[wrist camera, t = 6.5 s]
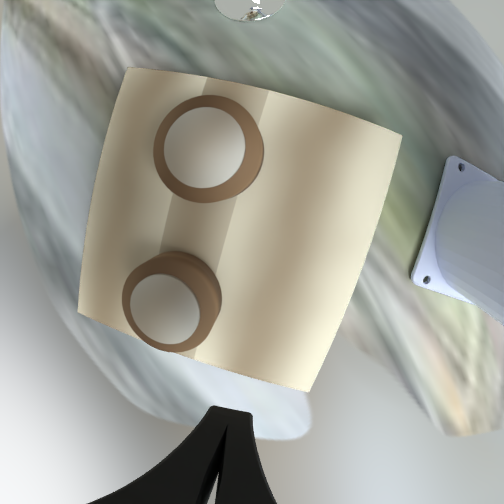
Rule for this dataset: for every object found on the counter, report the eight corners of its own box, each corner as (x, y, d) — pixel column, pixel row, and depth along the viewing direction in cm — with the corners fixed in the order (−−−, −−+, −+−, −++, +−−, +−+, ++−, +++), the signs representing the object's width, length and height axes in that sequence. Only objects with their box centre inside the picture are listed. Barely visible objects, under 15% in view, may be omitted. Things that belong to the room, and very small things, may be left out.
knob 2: (241, 253, 18) (224, 280, 13) (221, 322, 18) (200, 368, 14) (167, 230, 18) (126, 248, 13) (153, 299, 19) (114, 335, 14)
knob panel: (383, 142, 16) (402, 135, 13) (306, 364, 19) (308, 392, 16) (149, 82, 16) (127, 67, 13) (102, 296, 19) (77, 312, 16)
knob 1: (277, 129, 16) (274, 107, 11) (254, 207, 17) (242, 217, 12) (200, 111, 16) (168, 85, 11) (178, 186, 17) (138, 187, 12)
